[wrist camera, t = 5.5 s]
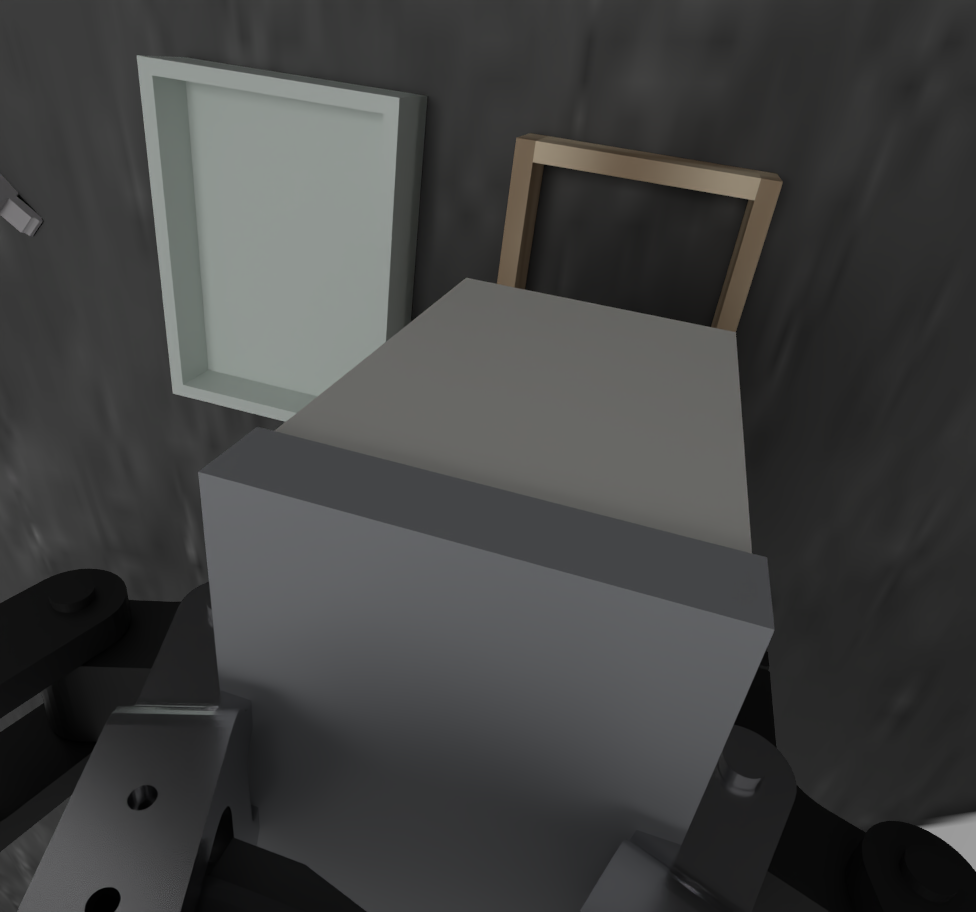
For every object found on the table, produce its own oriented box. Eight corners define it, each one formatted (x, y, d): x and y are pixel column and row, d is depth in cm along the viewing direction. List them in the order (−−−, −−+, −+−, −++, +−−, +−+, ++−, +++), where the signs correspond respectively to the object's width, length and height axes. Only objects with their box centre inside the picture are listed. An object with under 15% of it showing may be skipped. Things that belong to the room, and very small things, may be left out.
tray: (427, 95, 23) (399, 97, 21) (403, 418, 29) (379, 445, 27) (185, 57, 25) (136, 55, 23) (209, 371, 31) (173, 393, 29)
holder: (776, 174, 22) (782, 182, 20) (684, 472, 27) (683, 499, 25) (530, 133, 23) (516, 137, 21) (488, 425, 28) (475, 448, 27)
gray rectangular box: (743, 328, 12) (775, 630, 6) (638, 662, 16) (583, 1072, 10) (461, 271, 13) (198, 472, 7) (428, 601, 17) (243, 934, 11)
